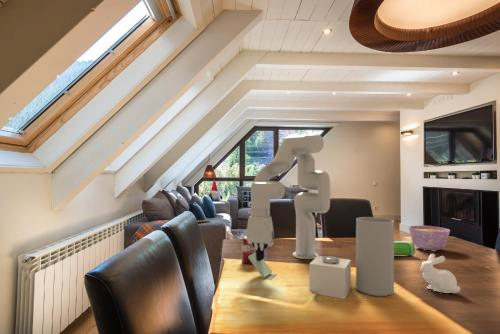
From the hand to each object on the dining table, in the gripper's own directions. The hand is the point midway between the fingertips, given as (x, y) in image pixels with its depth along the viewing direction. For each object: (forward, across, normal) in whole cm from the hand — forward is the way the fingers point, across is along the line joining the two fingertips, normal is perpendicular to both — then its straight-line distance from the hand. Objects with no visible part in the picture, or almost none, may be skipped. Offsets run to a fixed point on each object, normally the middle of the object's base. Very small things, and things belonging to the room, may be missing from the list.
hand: (260, 259), depth 127 cm
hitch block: (+7, +28, -2) cm, 29 cm away
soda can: (+7, -11, +14) cm, 19 cm away
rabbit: (+7, +62, +16) cm, 65 cm away
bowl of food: (+8, +64, +85) cm, 107 cm away
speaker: (+8, +48, +61) cm, 78 cm away
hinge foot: (+7, +5, 0) cm, 9 cm away
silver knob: (+6, +28, -2) cm, 28 cm away
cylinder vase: (+7, +42, +5) cm, 43 cm away
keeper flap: (+6, +4, 0) cm, 7 cm away
